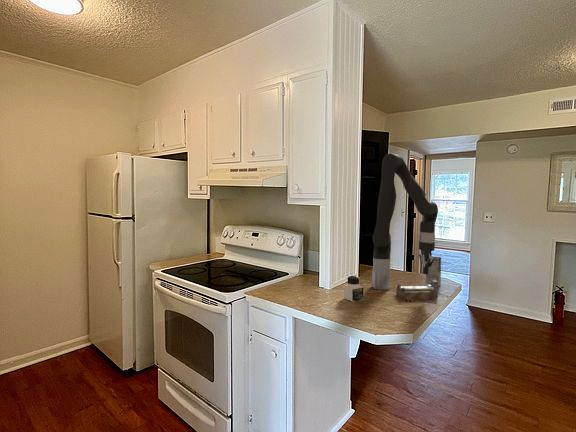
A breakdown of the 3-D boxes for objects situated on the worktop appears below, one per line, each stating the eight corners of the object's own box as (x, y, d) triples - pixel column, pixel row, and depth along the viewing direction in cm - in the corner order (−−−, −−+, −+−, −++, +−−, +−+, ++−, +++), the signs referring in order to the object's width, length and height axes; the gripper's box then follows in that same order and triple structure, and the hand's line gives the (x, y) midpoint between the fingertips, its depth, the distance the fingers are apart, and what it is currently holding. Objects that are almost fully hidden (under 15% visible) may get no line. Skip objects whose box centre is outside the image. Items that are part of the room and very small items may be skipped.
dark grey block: (433, 297, 166) (433, 281, 166) (430, 295, 170) (430, 280, 169) (438, 297, 166) (438, 281, 166) (435, 295, 170) (435, 279, 169)
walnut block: (402, 300, 163) (402, 289, 163) (396, 294, 172) (396, 283, 172) (435, 299, 164) (435, 288, 163) (427, 293, 172) (427, 283, 172)
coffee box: (429, 282, 194) (429, 255, 192) (440, 284, 190) (441, 257, 188) (425, 286, 186) (425, 258, 185) (437, 288, 182) (437, 259, 181)
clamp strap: (401, 290, 166) (401, 286, 165) (398, 288, 170) (398, 284, 169) (433, 290, 166) (433, 286, 166) (429, 288, 170) (430, 284, 170)
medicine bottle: (352, 302, 161) (352, 279, 160) (343, 298, 167) (343, 275, 166) (363, 300, 164) (363, 277, 163) (354, 296, 170) (354, 274, 169)
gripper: (414, 238, 172) (413, 270, 174) (424, 242, 159) (423, 277, 160) (428, 238, 172) (427, 270, 174) (440, 243, 159) (438, 277, 160)
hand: (425, 273), depth 167 cm, fingers closed
